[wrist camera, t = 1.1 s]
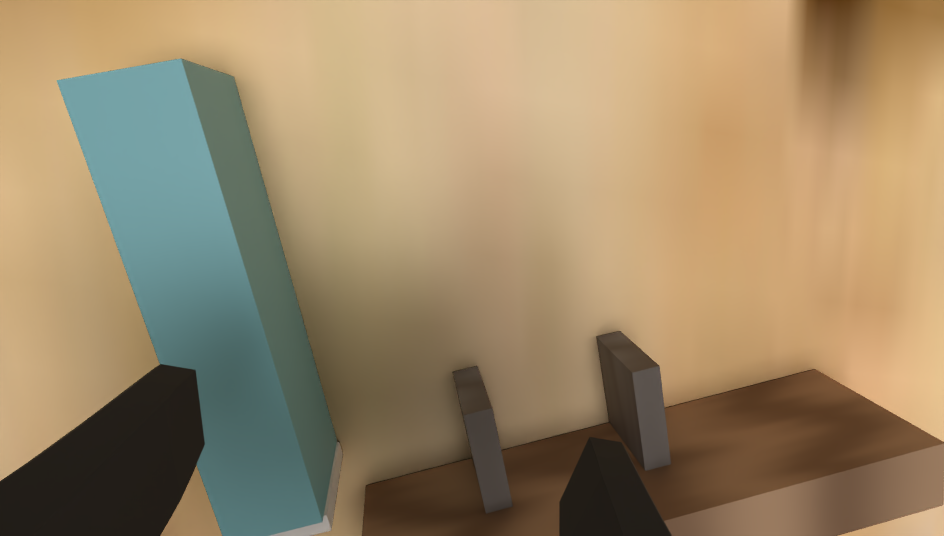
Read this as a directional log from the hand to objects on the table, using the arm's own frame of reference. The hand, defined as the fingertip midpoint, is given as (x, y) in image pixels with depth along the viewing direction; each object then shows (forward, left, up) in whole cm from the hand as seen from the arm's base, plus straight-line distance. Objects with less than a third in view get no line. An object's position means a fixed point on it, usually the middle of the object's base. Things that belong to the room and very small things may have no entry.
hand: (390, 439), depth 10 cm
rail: (-5, +1, -11) cm, 12 cm away
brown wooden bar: (+7, -7, -11) cm, 15 cm away
